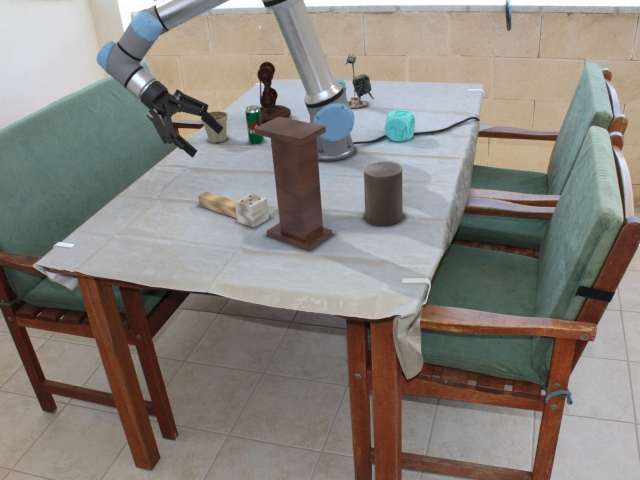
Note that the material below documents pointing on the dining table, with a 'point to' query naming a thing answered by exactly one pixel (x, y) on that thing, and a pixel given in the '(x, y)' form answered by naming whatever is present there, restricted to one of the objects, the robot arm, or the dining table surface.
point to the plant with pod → (359, 85)
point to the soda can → (253, 123)
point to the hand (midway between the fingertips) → (208, 142)
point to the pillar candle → (383, 193)
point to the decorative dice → (400, 125)
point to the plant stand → (296, 181)
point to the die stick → (238, 207)
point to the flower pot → (222, 120)
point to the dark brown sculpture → (269, 95)
